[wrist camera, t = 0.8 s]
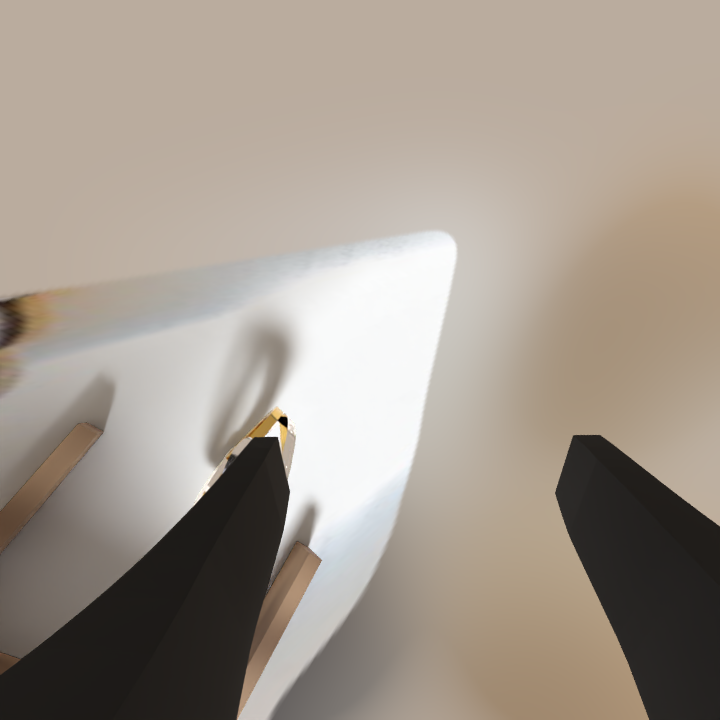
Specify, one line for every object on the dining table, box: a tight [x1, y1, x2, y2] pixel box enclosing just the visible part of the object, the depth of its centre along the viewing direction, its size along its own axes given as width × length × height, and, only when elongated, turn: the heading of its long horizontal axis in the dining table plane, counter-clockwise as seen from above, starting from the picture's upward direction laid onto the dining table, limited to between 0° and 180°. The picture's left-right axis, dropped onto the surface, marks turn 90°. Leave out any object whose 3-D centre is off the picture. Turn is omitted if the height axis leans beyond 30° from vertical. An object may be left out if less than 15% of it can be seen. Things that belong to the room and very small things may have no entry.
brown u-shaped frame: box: [0, 422, 322, 719], centre depth 20 cm, size 12×16×2 cm
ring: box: [193, 406, 296, 506], centre depth 21 cm, size 7×3×8 cm, turn 137°
